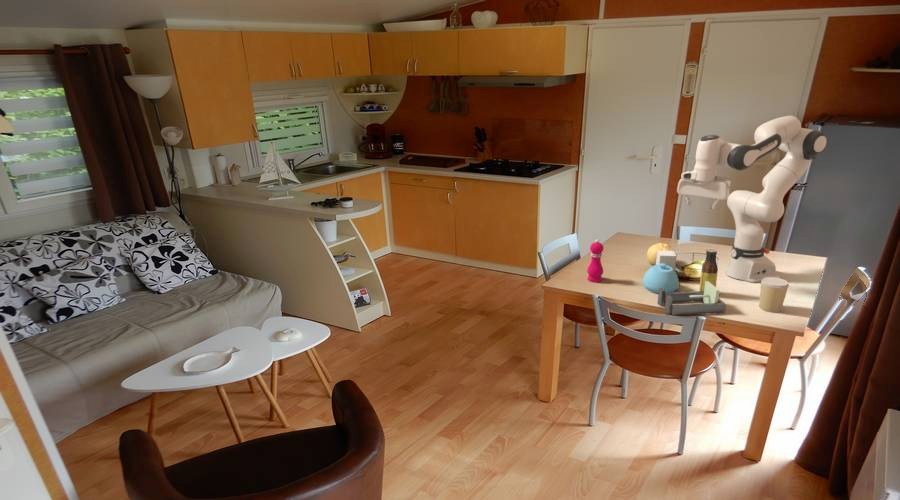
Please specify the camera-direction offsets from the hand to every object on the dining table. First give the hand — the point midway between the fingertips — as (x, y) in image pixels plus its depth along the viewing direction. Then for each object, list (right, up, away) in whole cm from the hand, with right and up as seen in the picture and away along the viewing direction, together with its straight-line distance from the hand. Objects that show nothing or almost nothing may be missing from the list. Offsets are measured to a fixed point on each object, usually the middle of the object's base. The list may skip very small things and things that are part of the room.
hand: (700, 207), depth 220 cm
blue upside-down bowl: (-13, -36, +11) cm, 39 cm away
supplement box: (-7, -32, +20) cm, 38 cm away
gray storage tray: (-8, -42, -8) cm, 44 cm away
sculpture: (-3, -26, +37) cm, 45 cm away
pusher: (-4, -42, -8) cm, 43 cm away
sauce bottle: (+4, -38, +3) cm, 38 cm away
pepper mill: (-39, -33, +22) cm, 55 cm away
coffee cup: (+23, -42, -11) cm, 49 cm away
